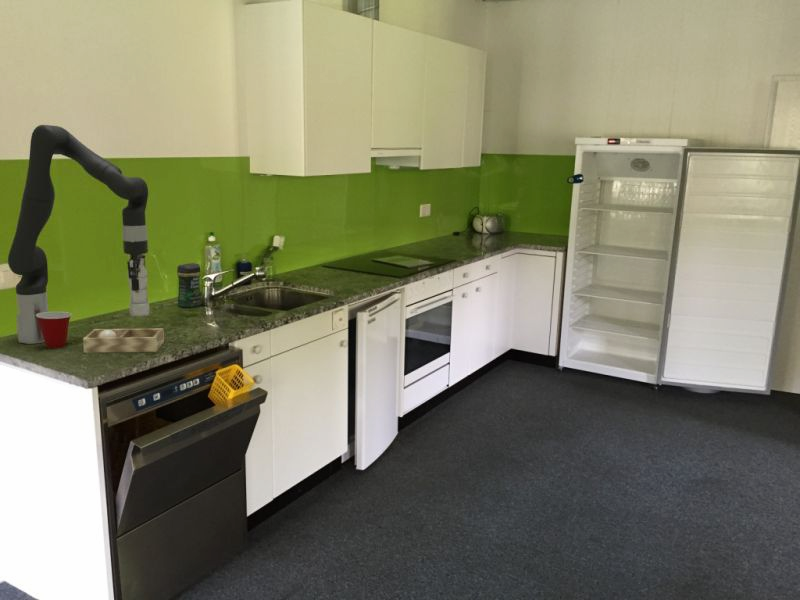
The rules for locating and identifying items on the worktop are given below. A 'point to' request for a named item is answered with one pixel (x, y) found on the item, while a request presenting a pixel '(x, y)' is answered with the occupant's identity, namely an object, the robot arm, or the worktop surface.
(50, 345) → the plastic cup
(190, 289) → the coffee jar
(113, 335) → the white ball
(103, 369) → the worktop surface
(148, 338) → the crate
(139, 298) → the plastic bottle
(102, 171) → the robot arm
